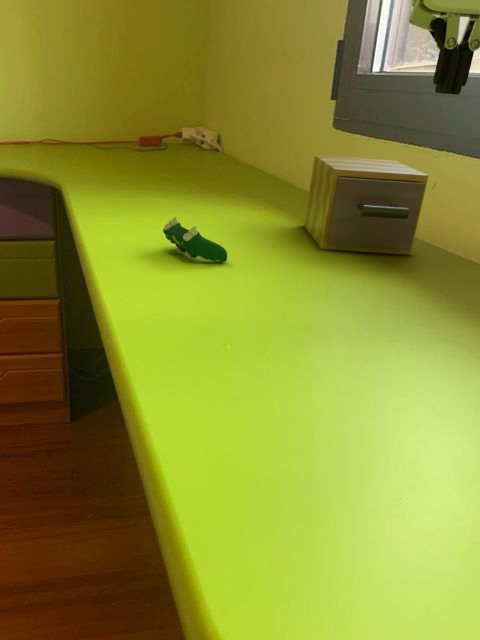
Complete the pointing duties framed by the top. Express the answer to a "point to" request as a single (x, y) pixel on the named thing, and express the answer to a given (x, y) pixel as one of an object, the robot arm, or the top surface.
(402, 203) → the drawer
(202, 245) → the green shoe
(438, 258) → the top surface
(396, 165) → the cabinet
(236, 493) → the top surface
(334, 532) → the top surface
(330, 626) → the top surface
